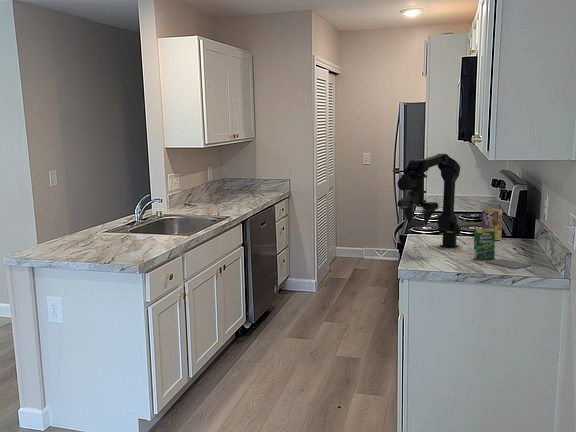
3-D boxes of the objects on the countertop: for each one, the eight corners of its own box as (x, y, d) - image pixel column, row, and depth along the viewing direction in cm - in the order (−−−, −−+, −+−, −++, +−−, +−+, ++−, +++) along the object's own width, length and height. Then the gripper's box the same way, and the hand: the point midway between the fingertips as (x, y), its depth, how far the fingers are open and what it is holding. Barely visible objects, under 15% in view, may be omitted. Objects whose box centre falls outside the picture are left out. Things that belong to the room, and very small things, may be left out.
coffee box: (475, 259, 226) (476, 229, 224) (473, 258, 228) (473, 228, 227) (494, 259, 225) (495, 228, 224) (492, 258, 228) (493, 227, 227)
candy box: (501, 240, 268) (503, 209, 266) (497, 241, 265) (498, 210, 263) (485, 237, 275) (486, 208, 273) (480, 238, 272) (481, 209, 270)
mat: (485, 262, 220) (485, 261, 220) (501, 259, 225) (501, 258, 225) (515, 269, 208) (515, 268, 208) (531, 265, 213) (531, 264, 213)
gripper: (388, 188, 237) (388, 223, 239) (421, 191, 222) (421, 228, 224) (406, 186, 243) (406, 220, 246) (439, 189, 228) (439, 225, 231)
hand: (417, 223), depth 237 cm, fingers open, 9 cm apart
